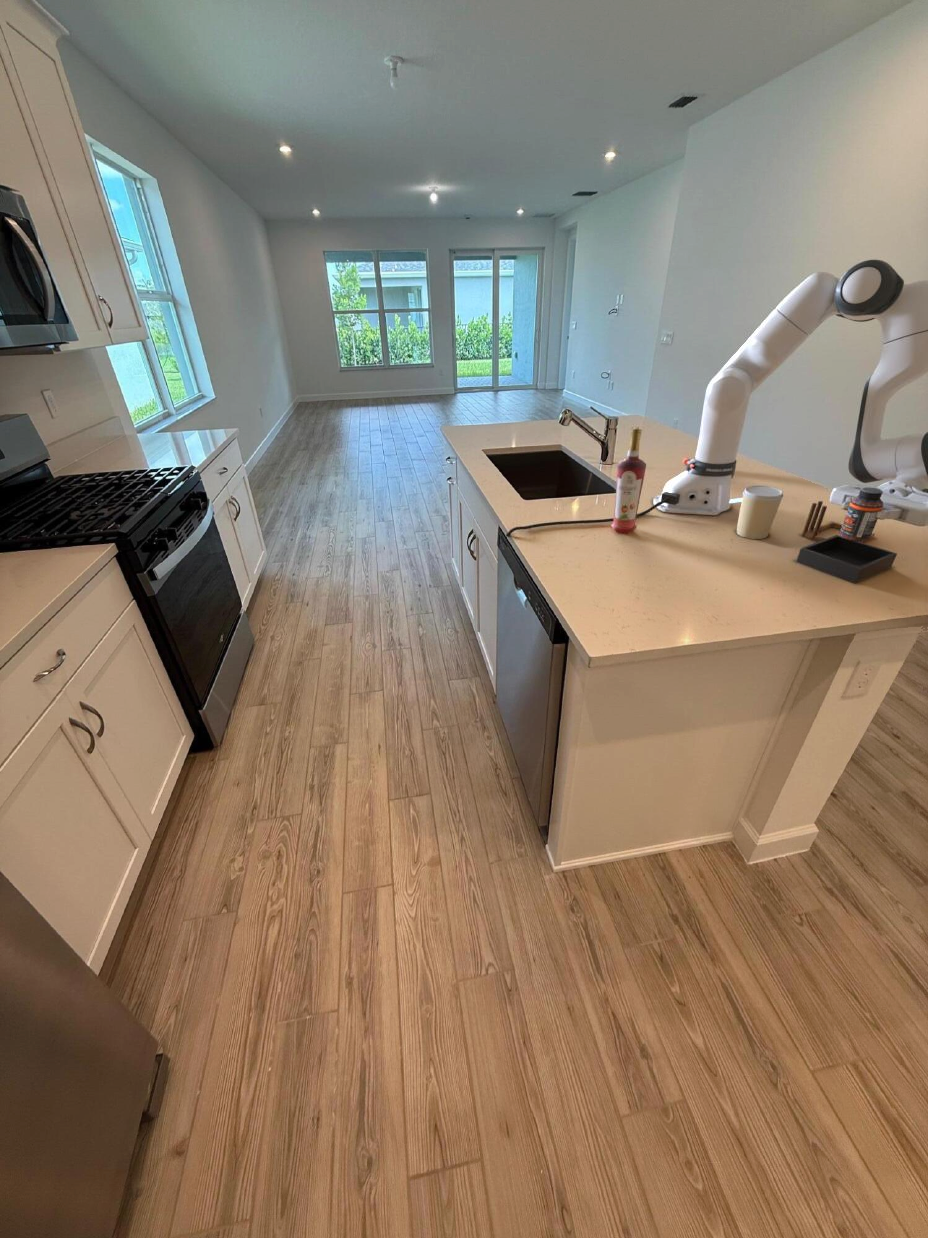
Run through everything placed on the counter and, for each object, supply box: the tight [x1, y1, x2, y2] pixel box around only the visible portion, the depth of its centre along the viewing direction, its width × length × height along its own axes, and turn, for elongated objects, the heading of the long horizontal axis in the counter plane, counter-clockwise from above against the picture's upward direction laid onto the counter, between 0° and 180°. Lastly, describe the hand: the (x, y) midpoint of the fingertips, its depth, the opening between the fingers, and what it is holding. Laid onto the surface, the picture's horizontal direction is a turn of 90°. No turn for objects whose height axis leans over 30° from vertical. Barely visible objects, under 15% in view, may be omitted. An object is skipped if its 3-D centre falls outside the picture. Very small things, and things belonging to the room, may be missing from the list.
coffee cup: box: [736, 485, 784, 540], centre depth 135 cm, size 9×9×12 cm
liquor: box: [611, 426, 647, 535], centre depth 137 cm, size 7×7×28 cm
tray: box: [795, 534, 898, 584], centre depth 120 cm, size 15×14×4 cm
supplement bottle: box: [839, 486, 883, 543], centre depth 114 cm, size 6×6×11 cm
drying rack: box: [801, 500, 875, 543], centre depth 132 cm, size 13×11×9 cm
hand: (862, 511), depth 113 cm, fingers closed on supplement bottle, 6 cm apart
